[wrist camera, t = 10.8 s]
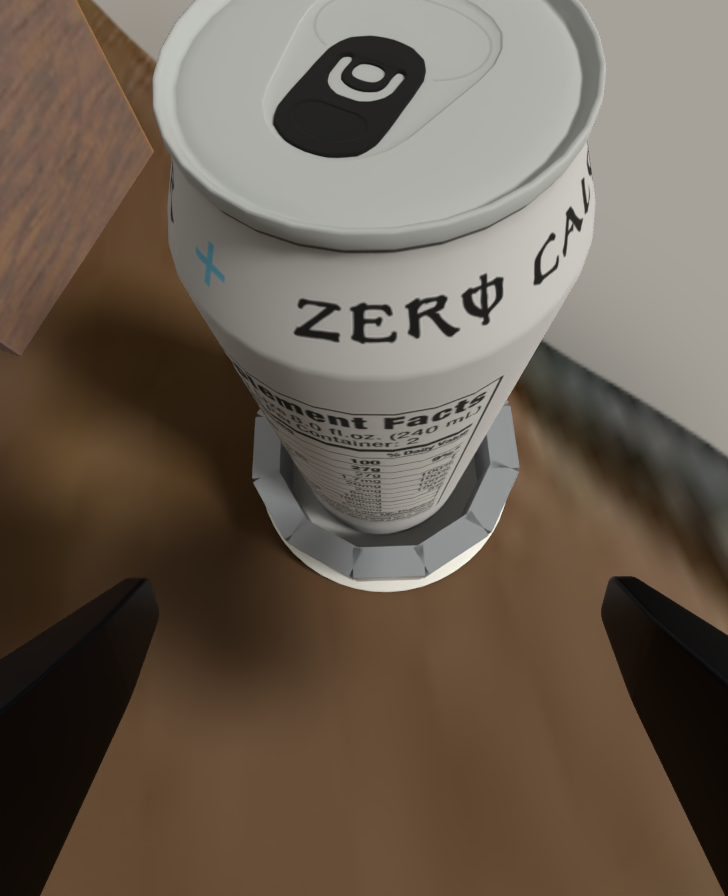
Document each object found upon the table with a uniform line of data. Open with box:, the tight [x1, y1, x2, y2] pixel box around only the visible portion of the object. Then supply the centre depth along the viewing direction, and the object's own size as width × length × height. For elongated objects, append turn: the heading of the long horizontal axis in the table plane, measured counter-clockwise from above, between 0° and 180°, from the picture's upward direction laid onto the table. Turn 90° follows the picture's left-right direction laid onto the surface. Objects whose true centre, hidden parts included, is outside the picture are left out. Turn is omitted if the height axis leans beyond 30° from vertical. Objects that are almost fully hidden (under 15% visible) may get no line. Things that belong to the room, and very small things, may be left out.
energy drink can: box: [153, 0, 606, 535], centre depth 12 cm, size 6×6×15 cm
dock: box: [252, 400, 519, 592], centre depth 18 cm, size 10×10×3 cm
